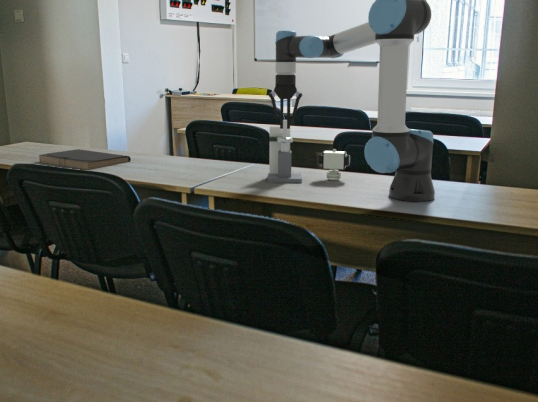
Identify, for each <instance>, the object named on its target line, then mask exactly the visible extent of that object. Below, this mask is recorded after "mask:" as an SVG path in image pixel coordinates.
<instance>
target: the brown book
mask: <svg viewBox="0 0 538 402" xmlns="http://www.w3.org/2000/svg"><path fill="white" fill-rule="evenodd" d="M38 156H39V157H38V158H39V162H40V163H43V164H44V163H45V164H49V165H56V166H57V165H58V166H64V167H69V168H76V169H77V168H78V169H83V170H96V169H101V168H106V167H110V166H115V165H120V164H125V163H128V162H129V163H131V159H132V158H131V157H130V155H124V154H116V153H108V152H100V151H96V150H94V151H93V150H87V149H86V150H85V149H79V148H78V149H71V150H70V149H69V150H62V151H56V152H55V151H54V152H49V153H48V152H47V153H44V154H43V153H42V154H39V155H38Z"/></svg>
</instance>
